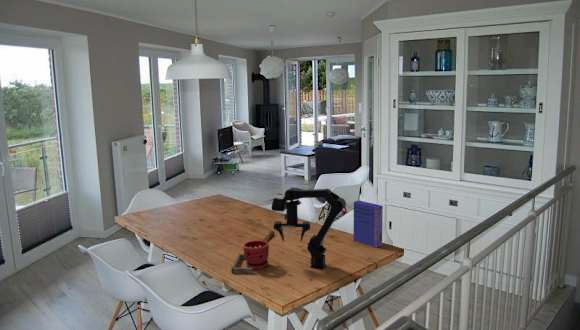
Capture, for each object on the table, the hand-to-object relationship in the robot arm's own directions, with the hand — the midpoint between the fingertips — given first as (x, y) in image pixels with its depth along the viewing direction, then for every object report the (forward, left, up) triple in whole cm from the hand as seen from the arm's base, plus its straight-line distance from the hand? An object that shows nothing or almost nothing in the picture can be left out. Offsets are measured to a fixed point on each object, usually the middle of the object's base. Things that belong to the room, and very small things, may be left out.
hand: (292, 241), depth 243 cm
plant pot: (+15, +11, -12) cm, 23 cm away
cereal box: (-24, -47, -12) cm, 54 cm away
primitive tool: (+32, -25, -13) cm, 43 cm away
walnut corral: (+20, +14, -12) cm, 27 cm away
